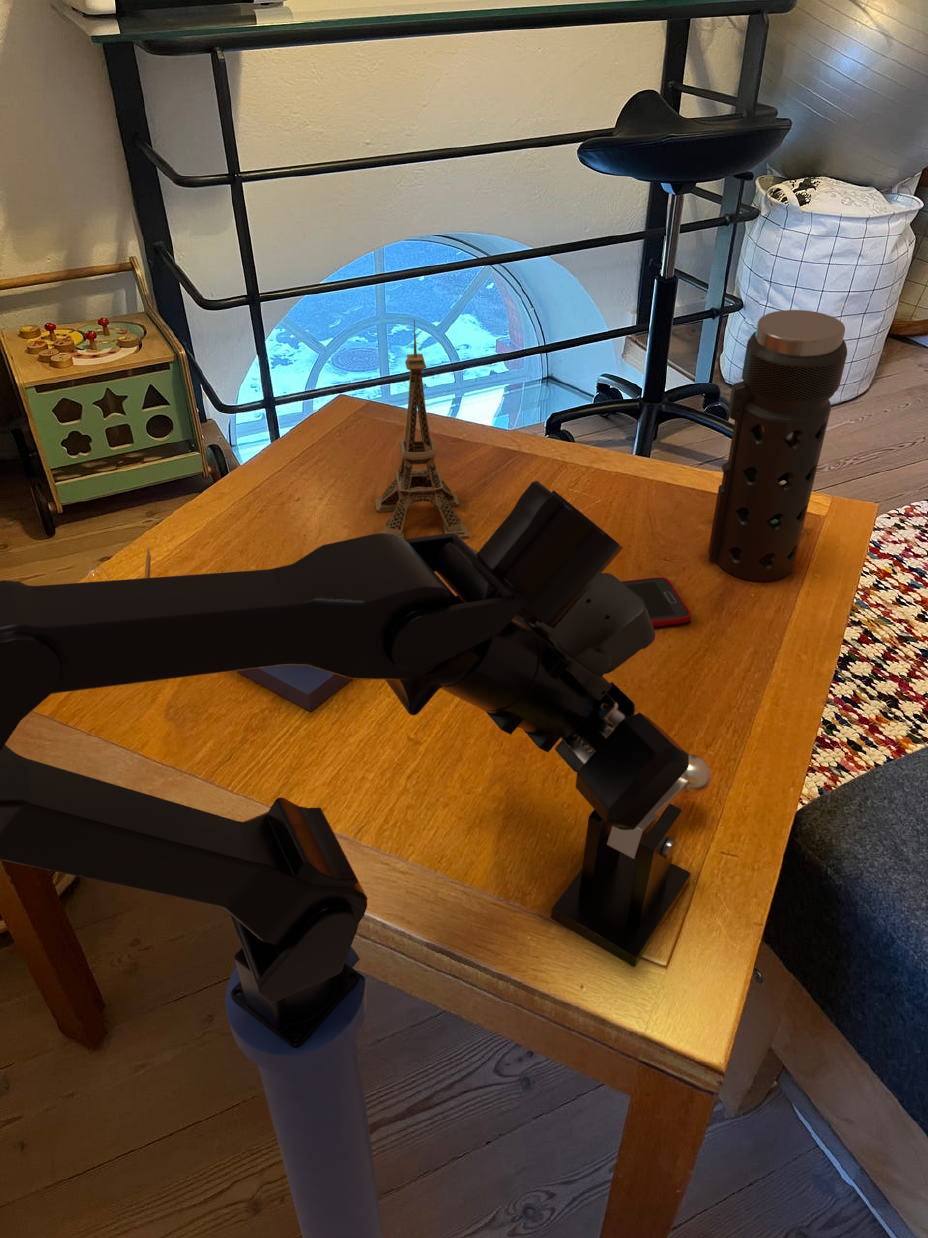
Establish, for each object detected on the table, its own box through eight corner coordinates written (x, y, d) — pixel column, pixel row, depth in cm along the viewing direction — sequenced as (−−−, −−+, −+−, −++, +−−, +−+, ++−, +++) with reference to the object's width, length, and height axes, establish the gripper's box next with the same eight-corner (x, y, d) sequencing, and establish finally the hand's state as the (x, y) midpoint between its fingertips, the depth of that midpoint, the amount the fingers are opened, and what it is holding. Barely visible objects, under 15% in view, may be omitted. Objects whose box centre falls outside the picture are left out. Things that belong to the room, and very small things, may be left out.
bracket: (608, 840, 74) (621, 753, 68) (688, 882, 70) (709, 795, 65) (550, 918, 68) (558, 830, 62) (634, 968, 65) (652, 881, 59)
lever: (670, 777, 76) (681, 740, 75) (710, 796, 74) (723, 759, 73) (595, 847, 65) (607, 804, 63) (641, 871, 63) (654, 828, 62)
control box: (310, 712, 86) (306, 679, 83) (236, 672, 90) (230, 640, 88) (391, 647, 94) (390, 616, 91) (320, 613, 98) (316, 583, 96)
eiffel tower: (381, 544, 109) (368, 339, 94) (375, 501, 118) (362, 306, 103) (468, 538, 111) (469, 334, 96) (456, 495, 119) (455, 302, 104)
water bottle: (714, 584, 103) (806, 582, 103) (755, 345, 85) (866, 341, 85) (697, 537, 110) (784, 535, 110) (732, 308, 93) (835, 304, 92)
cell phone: (693, 623, 97) (694, 616, 96) (559, 640, 94) (559, 632, 94) (666, 583, 103) (667, 575, 102) (539, 597, 100) (540, 590, 100)
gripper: (687, 648, 48) (796, 732, 59) (505, 496, 61) (621, 588, 72) (552, 805, 50) (682, 859, 60) (403, 624, 63) (531, 695, 73)
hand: (627, 737), depth 66 cm, fingers closed
